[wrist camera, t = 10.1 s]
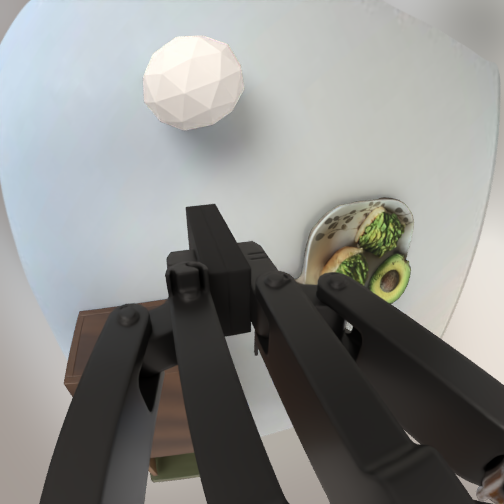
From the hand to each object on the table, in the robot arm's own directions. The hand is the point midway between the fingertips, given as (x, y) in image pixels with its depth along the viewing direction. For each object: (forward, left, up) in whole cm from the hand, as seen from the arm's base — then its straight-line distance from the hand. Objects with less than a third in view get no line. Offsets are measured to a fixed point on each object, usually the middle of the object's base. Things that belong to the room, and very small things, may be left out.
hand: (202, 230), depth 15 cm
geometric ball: (-5, +7, -14) cm, 16 cm away
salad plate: (+24, +6, -14) cm, 28 cm away
